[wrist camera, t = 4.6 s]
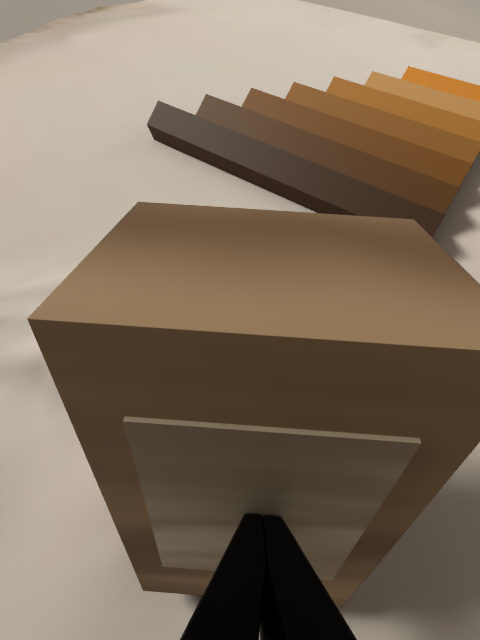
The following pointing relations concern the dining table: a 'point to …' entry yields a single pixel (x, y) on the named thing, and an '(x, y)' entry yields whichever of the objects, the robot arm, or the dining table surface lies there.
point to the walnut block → (265, 382)
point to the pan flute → (342, 143)
